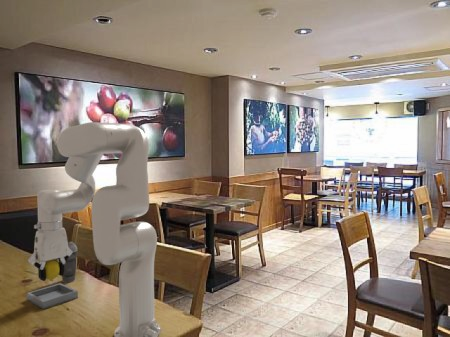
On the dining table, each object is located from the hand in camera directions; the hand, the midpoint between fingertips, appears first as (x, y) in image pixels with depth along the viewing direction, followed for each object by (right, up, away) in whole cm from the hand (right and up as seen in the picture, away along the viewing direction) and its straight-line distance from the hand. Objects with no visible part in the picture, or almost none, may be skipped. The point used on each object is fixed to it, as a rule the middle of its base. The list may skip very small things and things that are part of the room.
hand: (51, 276), depth 131 cm
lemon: (0, -2, 0) cm, 2 cm away
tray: (0, -8, 0) cm, 8 cm away
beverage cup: (-2, -7, +19) cm, 20 cm away
